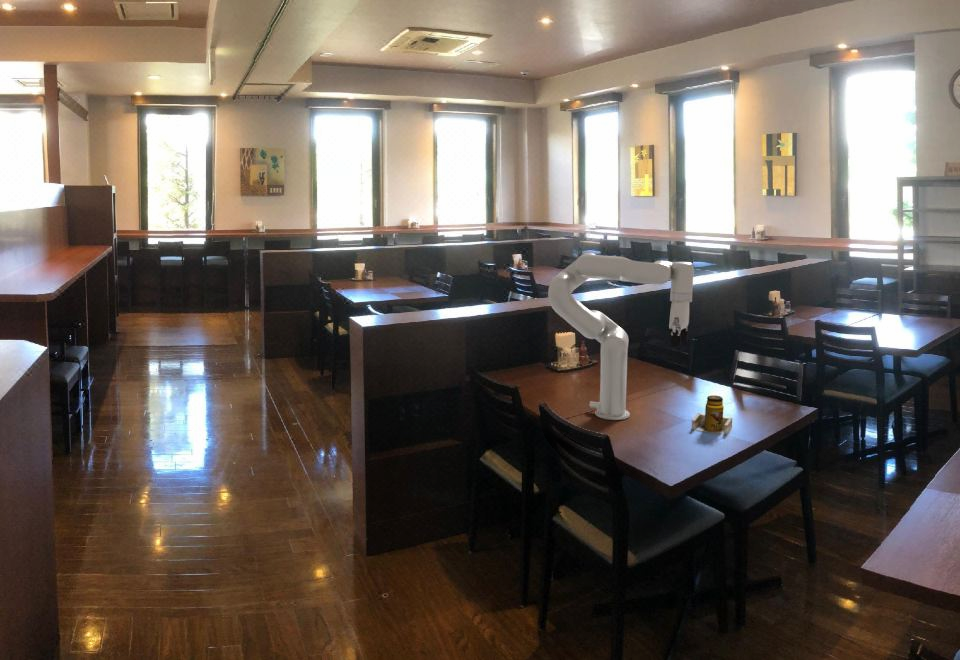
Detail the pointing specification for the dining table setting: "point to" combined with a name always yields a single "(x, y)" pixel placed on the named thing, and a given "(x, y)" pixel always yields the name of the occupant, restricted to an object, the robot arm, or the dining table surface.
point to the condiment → (713, 415)
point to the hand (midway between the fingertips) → (678, 344)
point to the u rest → (701, 420)
